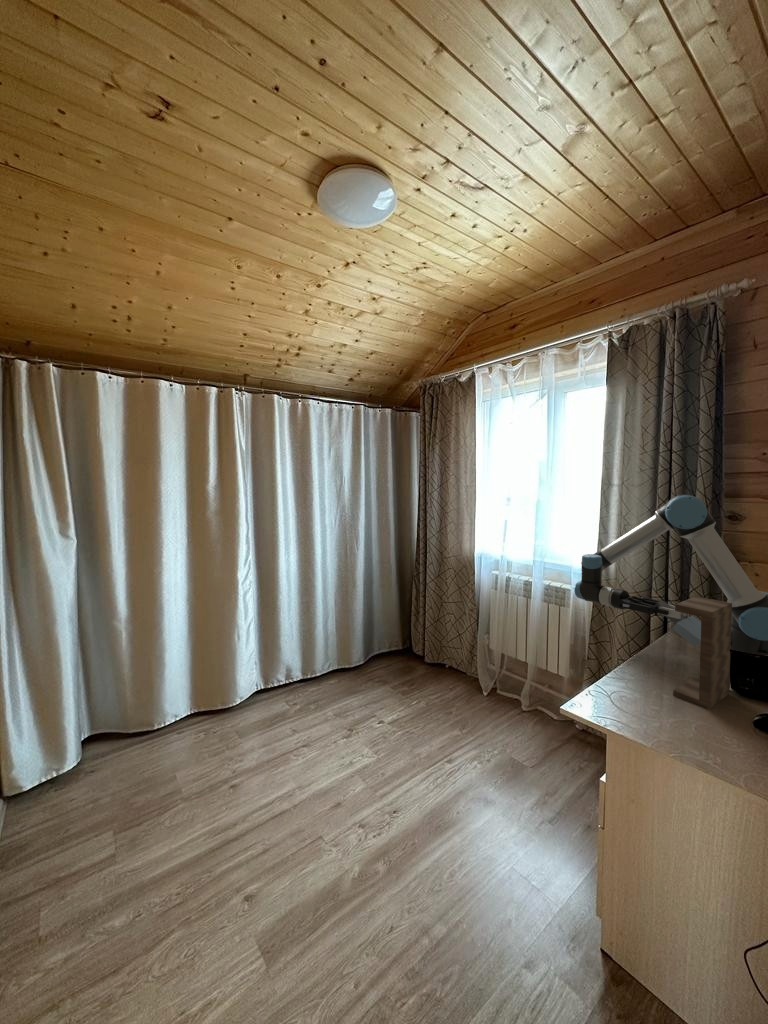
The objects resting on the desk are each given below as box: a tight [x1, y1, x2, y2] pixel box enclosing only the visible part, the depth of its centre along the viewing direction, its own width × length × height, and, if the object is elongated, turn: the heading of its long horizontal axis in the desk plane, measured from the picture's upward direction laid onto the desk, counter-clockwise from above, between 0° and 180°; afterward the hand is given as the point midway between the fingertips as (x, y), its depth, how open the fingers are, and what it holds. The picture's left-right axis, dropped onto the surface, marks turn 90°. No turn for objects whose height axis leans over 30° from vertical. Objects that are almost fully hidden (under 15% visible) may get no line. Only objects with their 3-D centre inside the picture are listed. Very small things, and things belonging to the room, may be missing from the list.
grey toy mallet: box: [655, 600, 701, 648], centre depth 139 cm, size 12×17×3 cm
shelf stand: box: [672, 595, 732, 710], centre depth 119 cm, size 14×9×28 cm, turn 122°
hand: (683, 613), depth 138 cm, fingers closed on grey toy mallet, 4 cm apart
